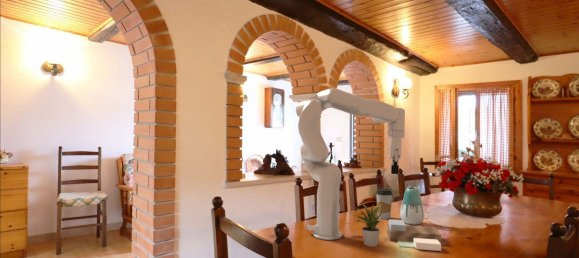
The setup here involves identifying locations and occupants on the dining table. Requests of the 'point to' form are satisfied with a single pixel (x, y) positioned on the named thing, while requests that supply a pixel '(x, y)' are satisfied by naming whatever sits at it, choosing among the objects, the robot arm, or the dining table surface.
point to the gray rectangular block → (397, 225)
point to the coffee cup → (384, 202)
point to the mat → (406, 244)
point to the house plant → (370, 226)
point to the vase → (412, 207)
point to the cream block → (427, 244)
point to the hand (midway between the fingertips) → (394, 173)
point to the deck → (414, 233)
